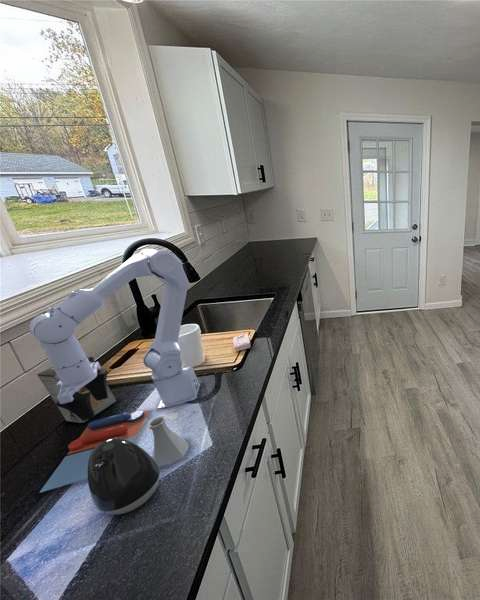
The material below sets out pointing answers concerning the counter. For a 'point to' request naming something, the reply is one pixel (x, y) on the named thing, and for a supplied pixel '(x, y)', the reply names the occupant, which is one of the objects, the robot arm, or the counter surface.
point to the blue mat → (70, 470)
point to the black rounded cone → (121, 476)
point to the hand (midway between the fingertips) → (95, 408)
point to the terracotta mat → (131, 431)
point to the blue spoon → (116, 419)
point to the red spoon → (96, 437)
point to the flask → (166, 443)
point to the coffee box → (51, 379)
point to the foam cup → (191, 345)
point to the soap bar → (241, 342)
